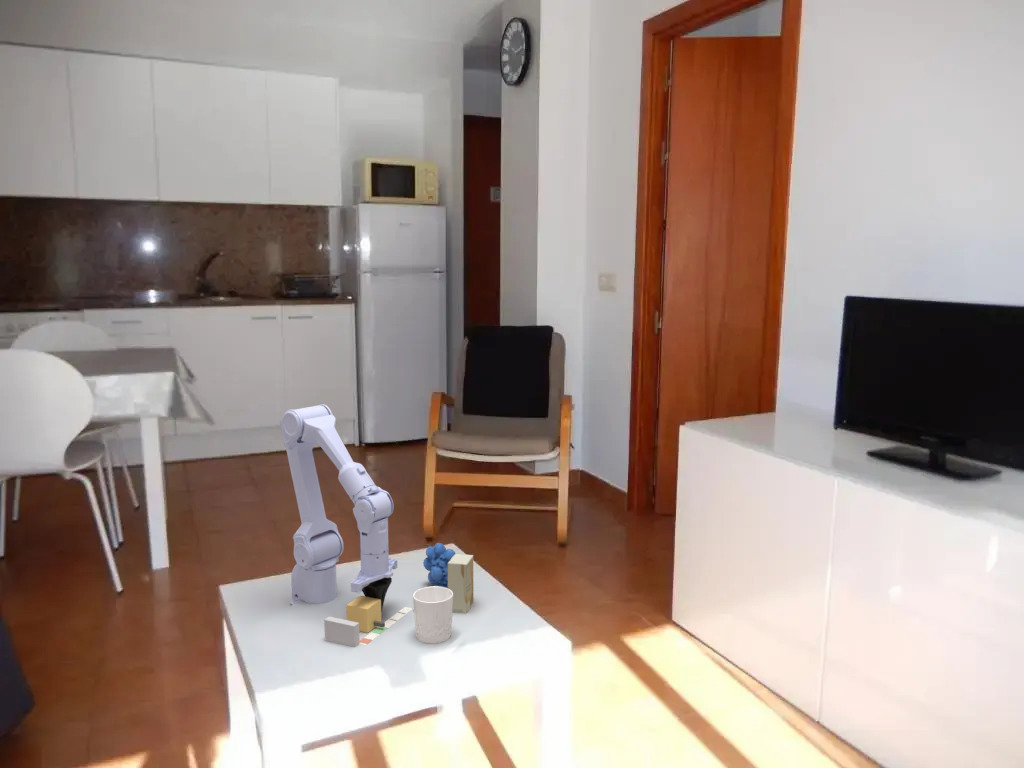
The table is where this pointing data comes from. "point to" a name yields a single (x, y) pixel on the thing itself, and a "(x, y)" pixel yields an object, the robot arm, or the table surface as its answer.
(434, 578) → the grapes
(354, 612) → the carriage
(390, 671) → the table surface
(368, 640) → the gauge track
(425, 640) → the white cup
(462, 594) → the skincare box
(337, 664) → the table surface
